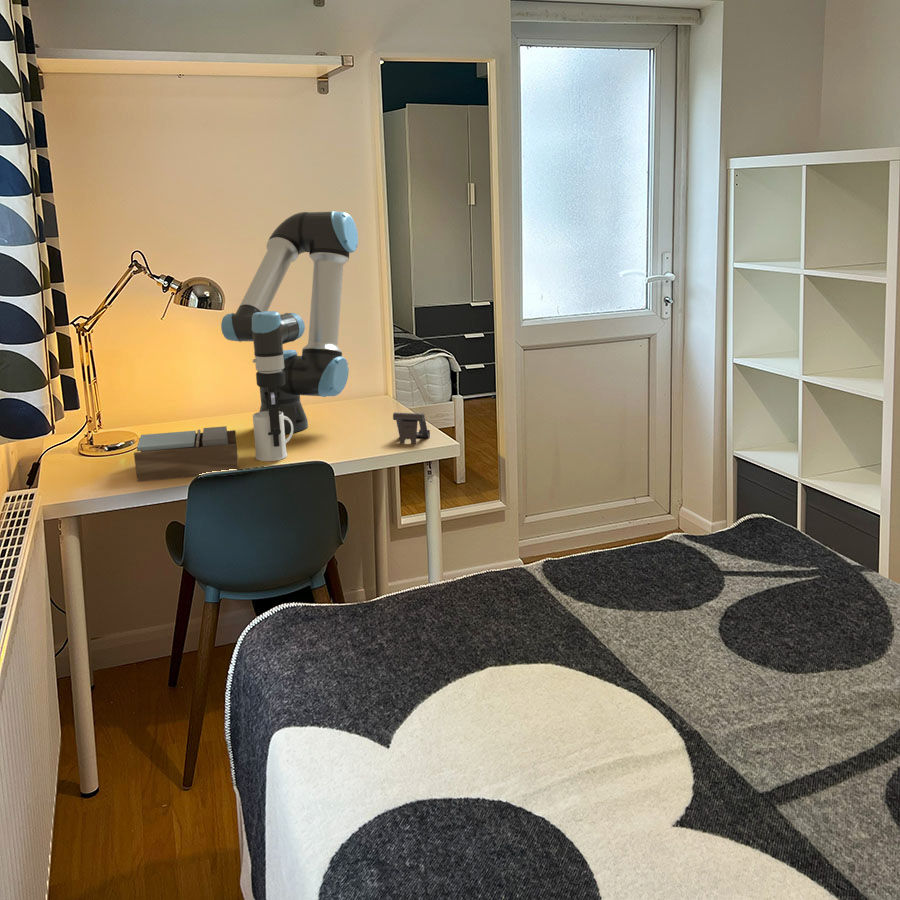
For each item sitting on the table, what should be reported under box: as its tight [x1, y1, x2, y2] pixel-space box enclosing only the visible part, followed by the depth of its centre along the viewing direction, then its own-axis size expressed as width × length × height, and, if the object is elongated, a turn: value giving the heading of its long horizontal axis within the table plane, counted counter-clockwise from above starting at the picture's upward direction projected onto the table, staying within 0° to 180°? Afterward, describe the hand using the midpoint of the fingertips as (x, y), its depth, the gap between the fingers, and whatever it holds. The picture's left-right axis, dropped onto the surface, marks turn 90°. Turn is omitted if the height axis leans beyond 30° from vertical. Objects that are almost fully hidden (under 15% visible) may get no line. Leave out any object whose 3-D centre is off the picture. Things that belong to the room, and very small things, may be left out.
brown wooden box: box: [133, 429, 239, 482], centre depth 258 cm, size 16×25×8 cm, turn 102°
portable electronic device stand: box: [392, 412, 431, 445], centre depth 278 cm, size 9×8×8 cm
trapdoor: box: [136, 425, 228, 452], centre depth 257 cm, size 22×13×6 cm, turn 102°
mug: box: [252, 411, 294, 462], centre depth 266 cm, size 12×8×12 cm
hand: (276, 453), depth 267 cm, fingers closed on mug, 8 cm apart
